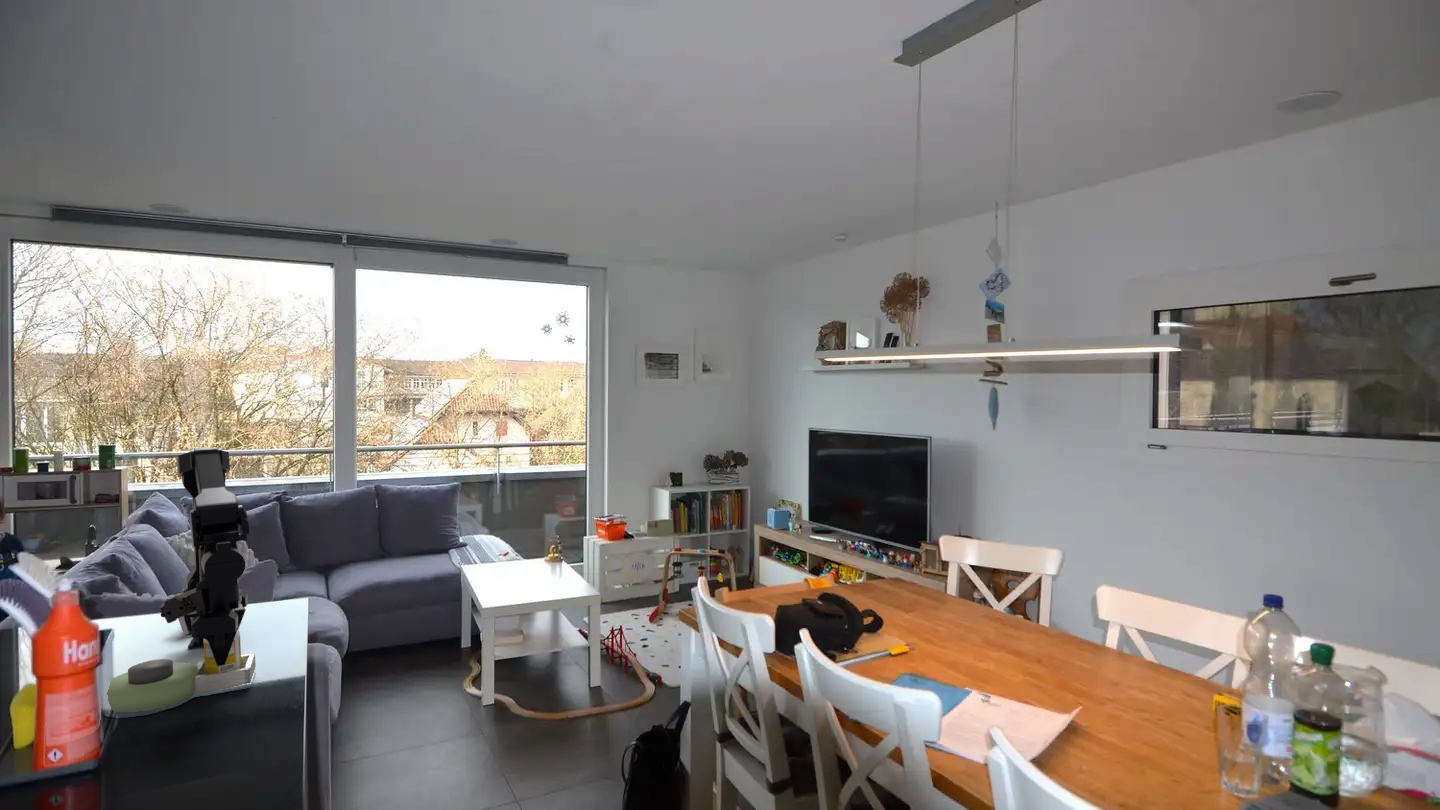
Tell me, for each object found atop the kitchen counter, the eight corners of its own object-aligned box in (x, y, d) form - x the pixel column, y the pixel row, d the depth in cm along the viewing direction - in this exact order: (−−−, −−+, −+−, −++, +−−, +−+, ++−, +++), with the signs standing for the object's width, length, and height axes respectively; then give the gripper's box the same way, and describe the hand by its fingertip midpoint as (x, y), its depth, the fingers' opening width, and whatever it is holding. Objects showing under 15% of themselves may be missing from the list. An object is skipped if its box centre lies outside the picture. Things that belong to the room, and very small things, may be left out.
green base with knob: (114, 694, 129) (112, 660, 129) (205, 679, 135) (203, 646, 135) (91, 725, 118) (89, 687, 117) (191, 707, 123) (190, 671, 123)
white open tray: (199, 680, 134) (198, 661, 134) (255, 671, 138) (254, 652, 138) (190, 698, 127) (189, 678, 127) (250, 688, 131) (249, 668, 130)
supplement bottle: (219, 668, 135) (216, 614, 135) (248, 668, 135) (246, 614, 135) (197, 680, 130) (195, 624, 130) (228, 680, 130) (225, 624, 129)
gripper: (174, 566, 137) (178, 651, 137) (150, 592, 120) (155, 688, 120) (246, 559, 142) (249, 640, 142) (233, 582, 125) (237, 675, 125)
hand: (223, 660), depth 132 cm, fingers closed on supplement bottle, 5 cm apart
